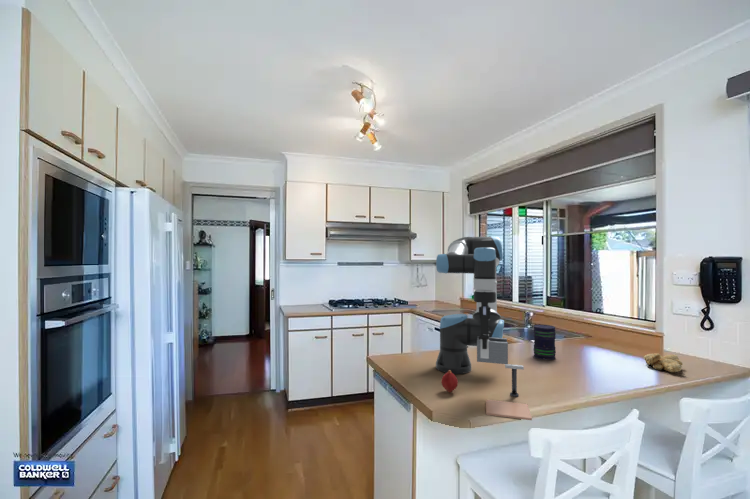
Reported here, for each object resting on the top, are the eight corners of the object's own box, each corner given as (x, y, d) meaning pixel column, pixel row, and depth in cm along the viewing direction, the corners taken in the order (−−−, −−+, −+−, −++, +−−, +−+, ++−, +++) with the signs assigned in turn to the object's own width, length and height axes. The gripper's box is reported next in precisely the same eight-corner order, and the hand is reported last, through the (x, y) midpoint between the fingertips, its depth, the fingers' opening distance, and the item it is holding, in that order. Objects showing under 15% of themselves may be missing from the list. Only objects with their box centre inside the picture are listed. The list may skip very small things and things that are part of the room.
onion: (439, 389, 133) (439, 367, 133) (455, 389, 134) (455, 367, 134) (443, 395, 127) (443, 372, 128) (460, 395, 128) (460, 372, 128)
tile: (486, 414, 112) (486, 412, 112) (486, 401, 123) (486, 399, 123) (531, 420, 108) (531, 418, 108) (527, 406, 119) (527, 404, 119)
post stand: (505, 395, 128) (505, 365, 128) (505, 393, 130) (504, 363, 130) (523, 397, 126) (523, 367, 126) (523, 394, 128) (523, 364, 129)
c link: (476, 361, 125) (476, 341, 126) (477, 355, 134) (477, 336, 134) (507, 364, 122) (507, 343, 123) (506, 358, 131) (506, 338, 131)
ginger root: (647, 358, 172) (651, 342, 171) (689, 375, 159) (694, 358, 158) (632, 364, 164) (636, 348, 162) (675, 383, 151) (680, 365, 149)
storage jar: (554, 361, 171) (554, 329, 172) (531, 357, 177) (531, 326, 177) (557, 356, 180) (556, 325, 180) (535, 353, 185) (535, 323, 186)
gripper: (496, 293, 118) (496, 363, 117) (495, 289, 139) (495, 349, 138) (472, 292, 121) (472, 361, 120) (475, 288, 141) (475, 347, 140)
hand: (484, 354), depth 129 cm, fingers closed on c link, 9 cm apart
